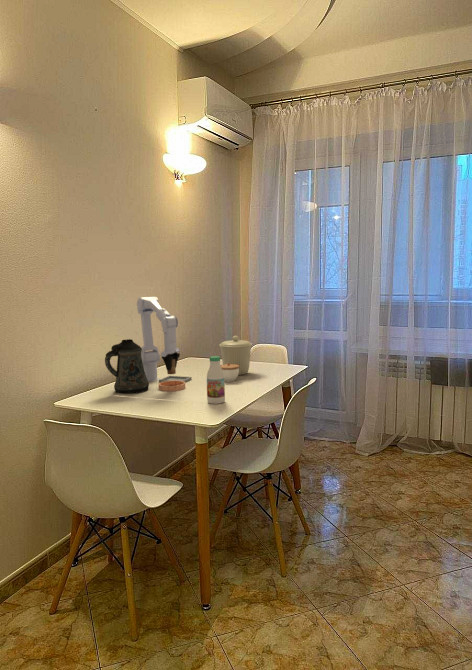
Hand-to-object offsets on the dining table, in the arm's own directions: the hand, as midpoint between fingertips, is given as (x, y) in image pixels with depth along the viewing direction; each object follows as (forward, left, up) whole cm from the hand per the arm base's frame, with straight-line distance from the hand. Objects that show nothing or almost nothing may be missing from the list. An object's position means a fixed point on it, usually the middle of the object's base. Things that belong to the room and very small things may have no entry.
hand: (171, 369), depth 251 cm
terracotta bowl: (0, 0, -10) cm, 10 cm away
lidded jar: (+19, +26, -10) cm, 34 cm away
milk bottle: (+31, -16, -10) cm, 36 cm away
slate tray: (-6, +14, -10) cm, 18 cm away
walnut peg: (0, 0, -2) cm, 2 cm away
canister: (+16, +43, -10) cm, 47 cm away
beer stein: (-17, -11, -10) cm, 23 cm away
